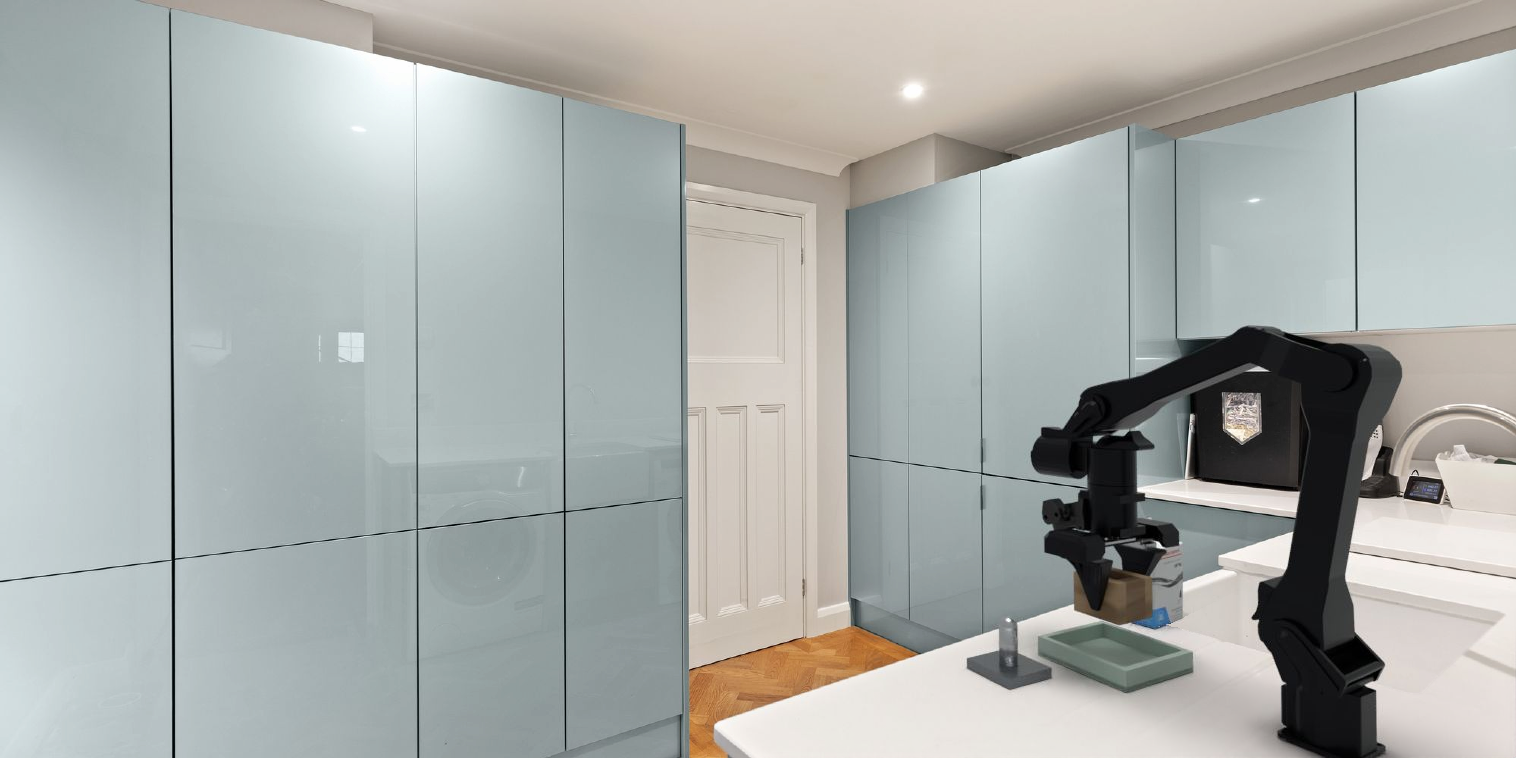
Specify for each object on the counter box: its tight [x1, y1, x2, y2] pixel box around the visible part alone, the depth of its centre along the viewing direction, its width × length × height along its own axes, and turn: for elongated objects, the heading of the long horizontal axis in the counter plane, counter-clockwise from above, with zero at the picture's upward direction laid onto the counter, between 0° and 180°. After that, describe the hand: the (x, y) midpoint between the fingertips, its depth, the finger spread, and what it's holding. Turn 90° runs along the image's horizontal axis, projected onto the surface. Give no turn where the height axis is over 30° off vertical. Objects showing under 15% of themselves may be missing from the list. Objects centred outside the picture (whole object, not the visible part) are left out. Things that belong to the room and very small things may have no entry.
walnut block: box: [1073, 566, 1153, 626], centre depth 89 cm, size 6×6×5 cm
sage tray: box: [1037, 620, 1194, 693], centre depth 89 cm, size 13×13×2 cm
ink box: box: [1131, 516, 1184, 629], centre depth 105 cm, size 8×5×15 cm, turn 123°
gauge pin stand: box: [966, 615, 1053, 690], centre depth 86 cm, size 7×7×7 cm
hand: (1113, 606), depth 89 cm, fingers closed on walnut block, 6 cm apart
